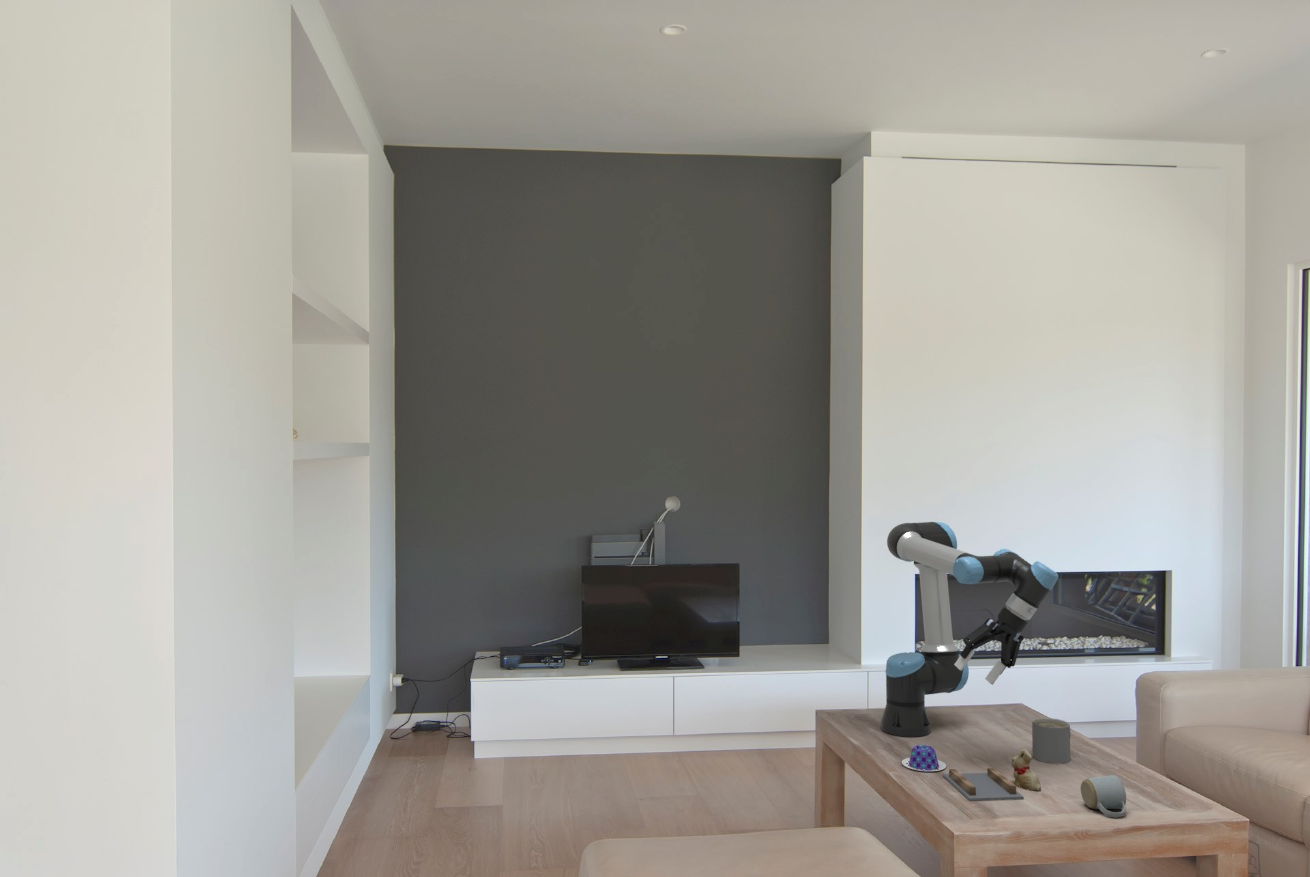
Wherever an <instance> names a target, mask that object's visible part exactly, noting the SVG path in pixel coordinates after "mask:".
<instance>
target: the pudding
mask: <svg viewBox="0 0 1310 877" xmlns="http://www.w3.org/2000/svg"><path fill="white" fill-rule="evenodd" d="M908 761H909V762H908ZM906 763H908V764H906ZM901 764H902V766H904V767H905V768H908V769H911V770H915V771H920V772H924V771H927V772H930V771H931V772H938V771H942V770H945V769H946V767H947V764H946V763H945V762H944V761H941V759H940V760H939V759H938V757H937V753H936V750H935V748H934V747H932V746H930V745H924V744H922V745H921V744H918V745H915V746H913V747H912V749H911V753H910V757H907V758H904V759H902V760H901ZM908 765H909V766H908ZM939 765H941V766H939ZM912 767H913V768H912ZM940 767H941V768H940ZM919 769H920V770H919ZM923 769H925V770H924V771H923ZM932 769H936V770H932ZM937 769H939V770H937Z"/></svg>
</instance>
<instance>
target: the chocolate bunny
mask: <svg viewBox="0 0 1310 877" xmlns="http://www.w3.org/2000/svg"><path fill="white" fill-rule="evenodd" d="M1032 760H1033V754H1031V753H1029V751H1028V750H1027V748H1024V749H1022V750H1021V751H1019V753H1018V755H1015V756H1014V757H1012V759H1011V766H1012V768H1013V769H1014V771H1013V777H1014V780H1013V782H1014V783H1013V784H1014V785H1015V786H1016V787H1019V786H1020V787H1019V788H1021V787H1022V788H1021V789H1024V790H1027V789H1029V790H1028V791H1031V790H1033V791H1034V792H1041V791H1042V787H1041V782H1040V780H1039V777H1038V775H1037V774H1036V773H1035V772H1034V771H1033V770H1032V769H1031V767H1030V763H1031V761H1032Z"/></svg>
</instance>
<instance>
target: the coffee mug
mask: <svg viewBox="0 0 1310 877" xmlns="http://www.w3.org/2000/svg"><path fill="white" fill-rule="evenodd" d="M1031 722H1032V723H1031V727H1032V728H1031V732H1032V737H1031V738H1032V740H1031V741H1032V758H1034V759H1035V760H1036V761H1039V762H1042V761H1044V763H1047V764H1048V763H1049V764H1054V763H1062V764H1067V763H1069V762H1071V736H1072V735H1071V724H1070V722H1068V721H1066V720H1063V719H1058V718H1051V717H1040V718H1039V717H1038V718H1037V717H1036V718H1034V719H1032V721H1031Z"/></svg>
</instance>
